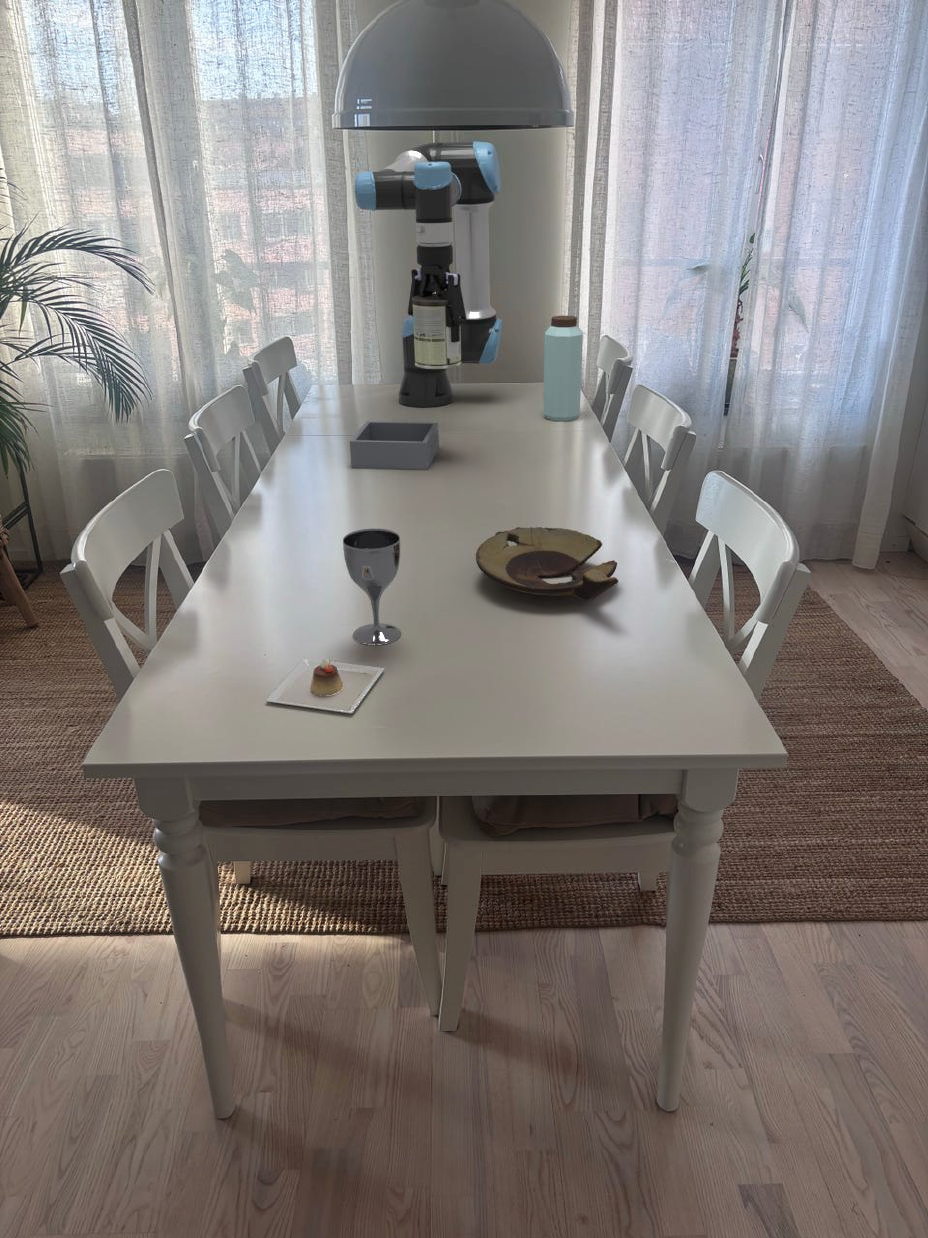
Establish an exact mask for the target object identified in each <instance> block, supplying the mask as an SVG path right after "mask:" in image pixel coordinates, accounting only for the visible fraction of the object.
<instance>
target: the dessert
mask: <svg viewBox="0 0 928 1238" xmlns="http://www.w3.org/2000/svg"><path fill="white" fill-rule="evenodd" d="M308 665H310V666H317V667H316V668H315V667H314V669H313V673H312V677H311V678H312V679H311V682H310V687H309V690H310V689H311V691H312V692H313V693H314V694H316V695H315V696H317V695H318V697H327V696H326V695H332V694H334V693H337V692H338V691H340V690H341V689H342V687H343V684H344V682H343V679H342V678H341V675H340V673H339V672H340V671H338V670H337V668H344V669H346V668H349V669H353V668H354V669H359V670H360V669H364V670H368V669H369V670H373V671H377V670H378V672H377V674H376V676H375V677H374V679H373V680H372V682H371V683H370V684H369V685H368V686H367V687H366V689H365V690H364V691H363V693H362V694H361V695H360V697H359V698H358V699H357V700H356V701H355V703H354V704H353V705H352V704H351V705H352V707H351V709H350V711H345V709H339V708H332V709H331V708H330V707H324V706H317V705H316V706H315V705H310V704H304V703H303V704H302V703H296V702H289V701H283V700H282V701H281V700H279V701H277V699H278V698H279V697H280V696H281V693H282V692H283V691H284V689H285V688H286V685H288V684H289V683H290V681H291V680H292V679H294V678H297V677H298V675H300V674H301V672H302V671H303V670H304V669H305V667H307V666H308ZM384 671H385V667H378V666H377V667H376V666H370V665H363V664H362V665H361V664H354V663H346V662H340V661H339V662H337V661H331V660H330V659H328V658H327V659H326V658H323V659H316V658H308V657H303V658H302V659H301V660H300V661H299V662H298V663H297V665H296V666H295V667H294V668H293V669H292V670H291V671H290V672H289V674H288V675H286V676H285V678H284V679H283V680H282V681H281V682H280V683H279V685H278V686H277V687H276V688H275V689H274V690H273V691H272V693H271V694H270V695H269V696H268V697H267V698H266V699H265V702H268V703H273V704H282V705H287V706H289V705H290V706H295V707H302V708H309V709H317V710H323V711H328V712H338V713H343V714H353V713H354V712H355V710H356V709H357V708H358V706H359V705H360V704H361V702H362V701H363V700H364V698H365V697H366V695H367V694H368V692H369V691H370V689H371V688H372V687H373V686H374V684H375V683H376V681H377V680H378V678H380V676H381V675H382V673H383V672H384ZM311 691H310V692H311ZM313 693H312V694H313ZM314 694H313V695H314ZM320 695H321V696H320ZM332 696H333V695H332ZM338 709H339V710H338Z"/></svg>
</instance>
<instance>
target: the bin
mask: <svg viewBox="0 0 928 1238" xmlns="http://www.w3.org/2000/svg"><path fill="white" fill-rule="evenodd" d="M439 434H440V433H439V422H422V421H421V422H420V421H419V422H418V421H415V422H414V421H371V420H370V421H369V420H366V421H365V422H364V423H363V425H362V426H361V428H360V429H358V431H357V432H356V433H355V435H354V436H353V437H352V438H351V439H350V440H349V451H350V463H351V465H350V466H351V469H380V470H381V469H385V470H387V469H388V470H420V471H422V470H424V471H425V470H428V469H429V467H430V465H431V463H432V462H433V460H434V458H435V456H436V455H437V452H438V450H440V449H439V448H440V440H439V439H440V438H439V437H440V435H439Z"/></svg>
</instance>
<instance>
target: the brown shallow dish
mask: <svg viewBox="0 0 928 1238" xmlns="http://www.w3.org/2000/svg"><path fill="white" fill-rule="evenodd" d="M508 542H511V543H514V544H516V545H509V543H508ZM602 546H603V543H602V541H601V540H599V539H597V538H595V537H594V536H591V535H590V534H586V533H582V532H581V531H580V532H579V531H578V530H572V529H569V528H561V527H560V528H559V527H557V528H556V527H555V528H554V527H542V526H540V527H538V526H536V527H533V526H531V527H520V526H519V527H518V526H517V527H515V528H514V529H510V530H504V531H497V532H495V534H494V535H493V536H491V537H489V538H488V539H486V540H485V541H483V542H482V543H481V544H480V545H479V547H478V548H477V549H476V554H475V561H476V564H477V568H478V569H479V570H480V571H481V572H482V573H483V574H484V575H485V576H486V577H487V578H488V579H490V580H491V581H492V582H494V583H497V584H499V585H500V586H502V587H506V588H508V589H511V590H514V591H517V592H522V593H526V594H529V595H530V594H531V595H537V596H553V597H554V596H575V597H577V598H579V599H580V600H583V601H593V600H594V599H596V598H597V597H599V596H600V595H602V594H603V593H605V592H606V591H608V590H610V589H612V588H613V587H614V586H615V585H617V584H618V583H619V580H618V578H617V577H615V576H613V575H614V574H615V571H616V570H617V567H618V562H617V561H616V560H614V559H613V560H610V561H609V560H608V561H606V562H604V561H603V562H602V563H600V564H597V565H593V566H590V567H586V568H582V569H579V567H581V566H583V565H584V564H585V563H586V562H587V561H588V560H589V559H591V558H592V557H593V556H594V555H595V554H596V553H597V552H598V551H599V550H600V549H601V547H602ZM578 569H579V570H578ZM569 574H570V576H571V578H572V580H570V581H567V582H558V583H549V582H547V581H545V580H544V579H543V578H544V577H545V578H546V577H549V578H551V577H553V578H554V577H562V576H564V575H569ZM542 577H543V578H542Z"/></svg>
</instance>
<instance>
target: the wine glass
mask: <svg viewBox="0 0 928 1238" xmlns="http://www.w3.org/2000/svg"><path fill="white" fill-rule="evenodd" d="M342 547H343V555H344V556H343V557H344V561H345V566H346V568H347V569H346V570H347V571H348V575H349V577H350V579H351V580H352V581H353V582H354V584H356V586H358V587H359V588H360V589H361V590H363V592H364V593H365V594H366V595H367V597H368V599H369V601H370V604H371V609H372V615H373V616H372V617H373V623H369V624H365V625H362V626H359V627H358V628H356V629H355V630H354V632H353V633H352V638H354V639H355V640H357V641H358V642H360V643H359V644H361V643H366V644H375V645H378V644H385V643H389V644H392V643H394V642H396V641H397V640H399V639H400V638H401V636H402V631H401V629H400V628H399V627H398V626H396V625H393V624H389V623H384V622H383V623H382V622H380V619H379V618H380V617H379V614H380V601H381V598H382V595H383V593H384V592H385V591H386V590H387V588H388V587H389V586H390V585H391V583H393V581H394V580H395V579H396V577H397V575H398V571H399V566H400V560H401V539H400V535H399V534H398V533H397V532H396V531H393V530H391V529H386V528H365V529H364V528H363V529H358V530H354V531H352V532H349V533H347V534H346V535H345V536H344V537H343V539H342ZM354 639H353V640H354ZM355 640H354V641H355ZM358 642H357V643H358ZM391 642H392V643H391ZM385 645H386V644H385ZM378 646H379V645H378Z"/></svg>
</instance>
